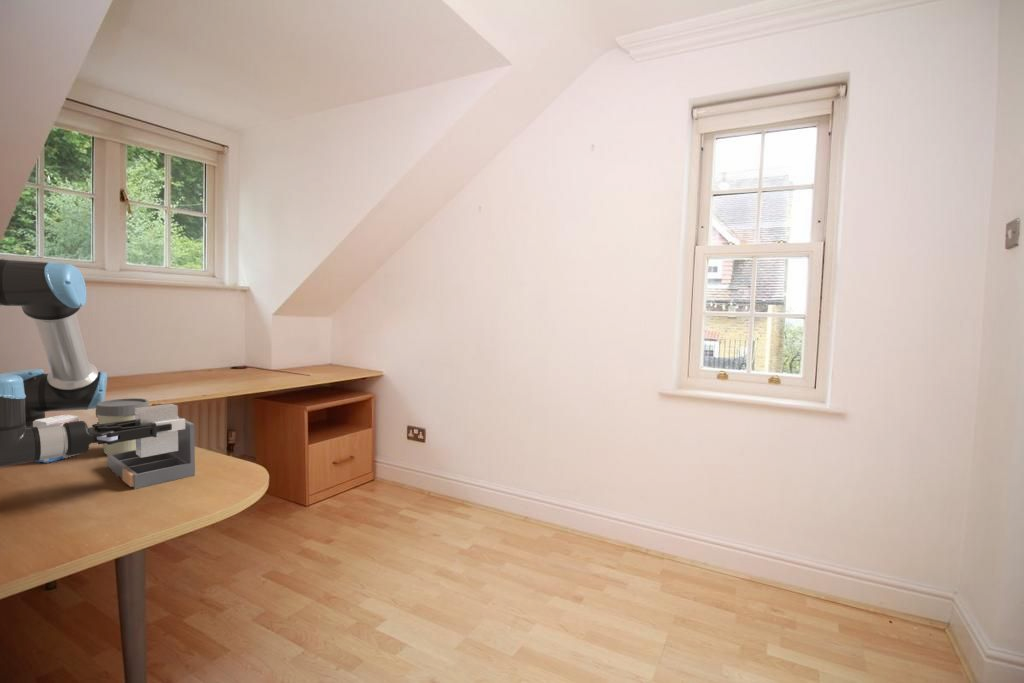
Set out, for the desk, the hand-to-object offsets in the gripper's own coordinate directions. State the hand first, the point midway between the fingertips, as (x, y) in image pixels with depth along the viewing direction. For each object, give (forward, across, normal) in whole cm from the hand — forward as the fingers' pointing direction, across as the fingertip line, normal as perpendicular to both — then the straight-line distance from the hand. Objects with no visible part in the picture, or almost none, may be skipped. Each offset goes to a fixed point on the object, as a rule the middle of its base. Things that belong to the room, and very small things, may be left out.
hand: (181, 422), depth 128 cm
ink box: (-18, -38, -14) cm, 44 cm away
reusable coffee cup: (-4, -33, -14) cm, 36 cm away
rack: (-5, -8, -14) cm, 17 cm away
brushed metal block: (-5, 0, -7) cm, 9 cm away
